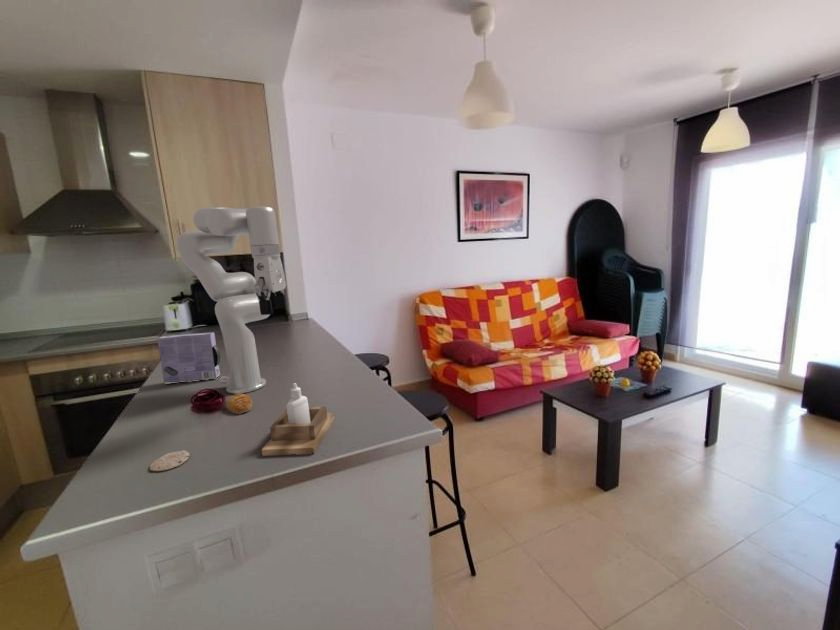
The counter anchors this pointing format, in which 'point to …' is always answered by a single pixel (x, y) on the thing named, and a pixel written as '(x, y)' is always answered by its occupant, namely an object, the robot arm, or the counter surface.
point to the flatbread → (169, 461)
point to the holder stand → (298, 434)
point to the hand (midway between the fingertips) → (274, 311)
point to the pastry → (239, 403)
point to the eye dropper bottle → (298, 407)
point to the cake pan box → (189, 357)
